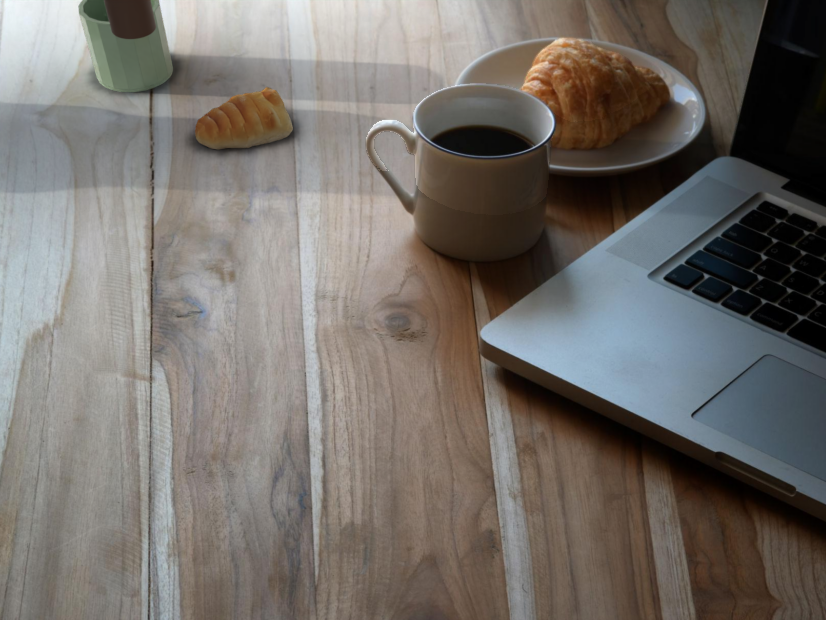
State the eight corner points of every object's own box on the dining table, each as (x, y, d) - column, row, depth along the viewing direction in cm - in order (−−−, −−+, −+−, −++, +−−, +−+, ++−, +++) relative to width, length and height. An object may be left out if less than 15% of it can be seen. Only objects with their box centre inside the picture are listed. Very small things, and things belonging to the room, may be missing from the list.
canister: (86, 90, 99) (66, 20, 93) (113, 52, 105) (95, -17, 99) (160, 97, 99) (144, 27, 93) (182, 58, 104) (169, -11, 98)
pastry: (211, 164, 91) (204, 131, 88) (186, 130, 95) (179, 97, 92) (299, 138, 94) (295, 105, 92) (271, 105, 98) (267, 73, 96)
